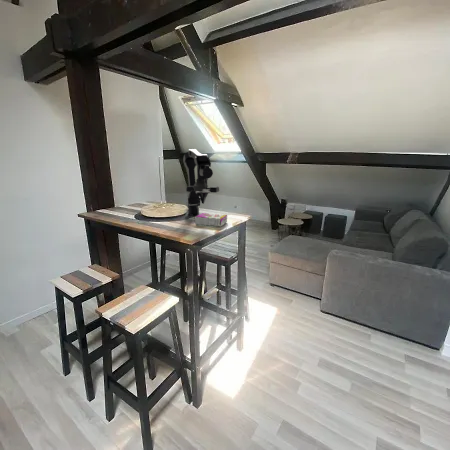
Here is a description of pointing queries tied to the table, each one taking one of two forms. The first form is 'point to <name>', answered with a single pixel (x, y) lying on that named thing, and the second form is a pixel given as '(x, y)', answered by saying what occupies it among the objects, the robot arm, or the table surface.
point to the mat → (206, 225)
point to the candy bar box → (211, 219)
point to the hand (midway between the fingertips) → (203, 203)
